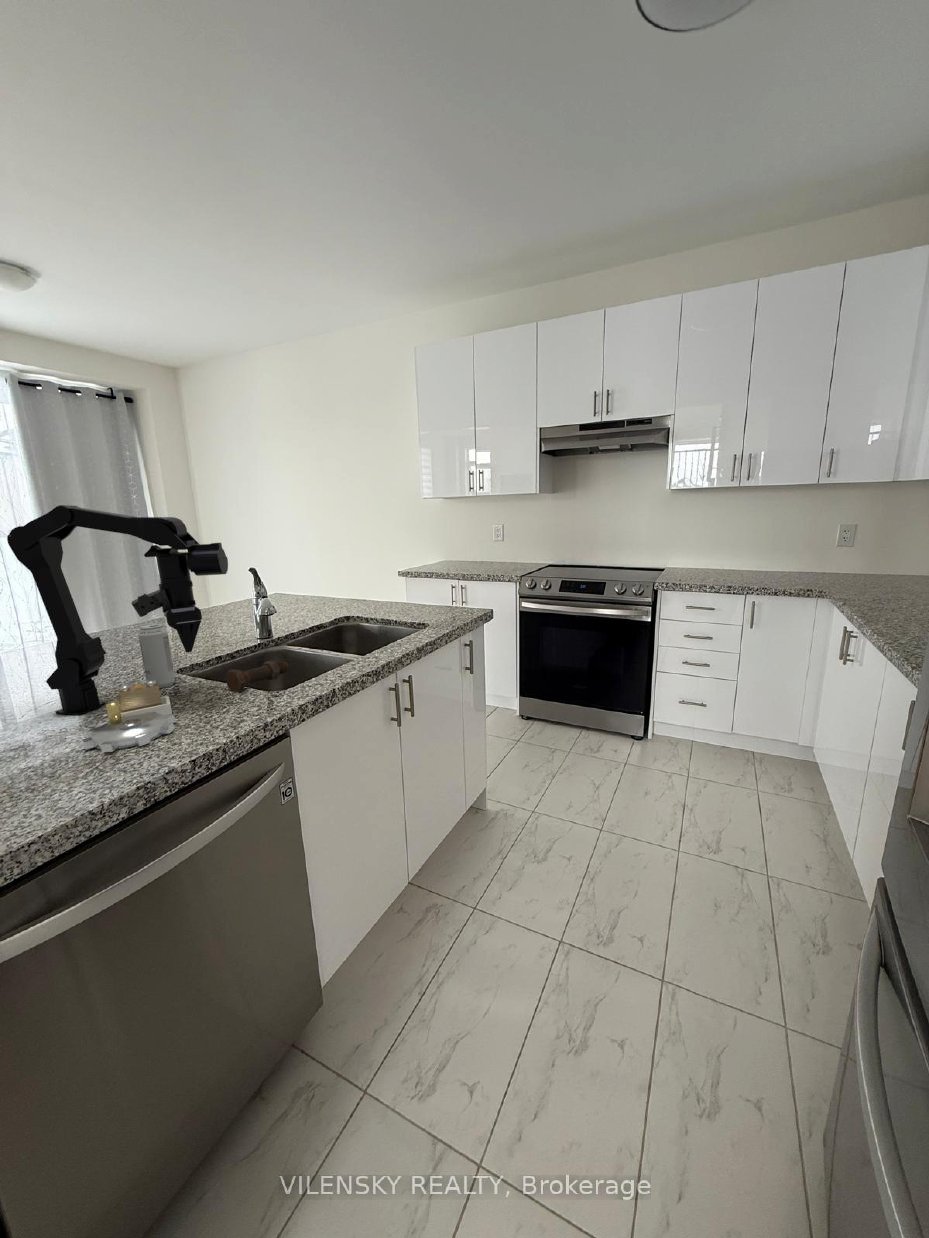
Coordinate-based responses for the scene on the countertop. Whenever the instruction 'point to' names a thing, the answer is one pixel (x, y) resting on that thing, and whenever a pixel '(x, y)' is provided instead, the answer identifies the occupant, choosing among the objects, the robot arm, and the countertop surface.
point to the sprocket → (127, 729)
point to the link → (139, 696)
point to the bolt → (254, 675)
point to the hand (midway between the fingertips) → (186, 647)
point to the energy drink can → (156, 654)
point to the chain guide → (152, 708)
